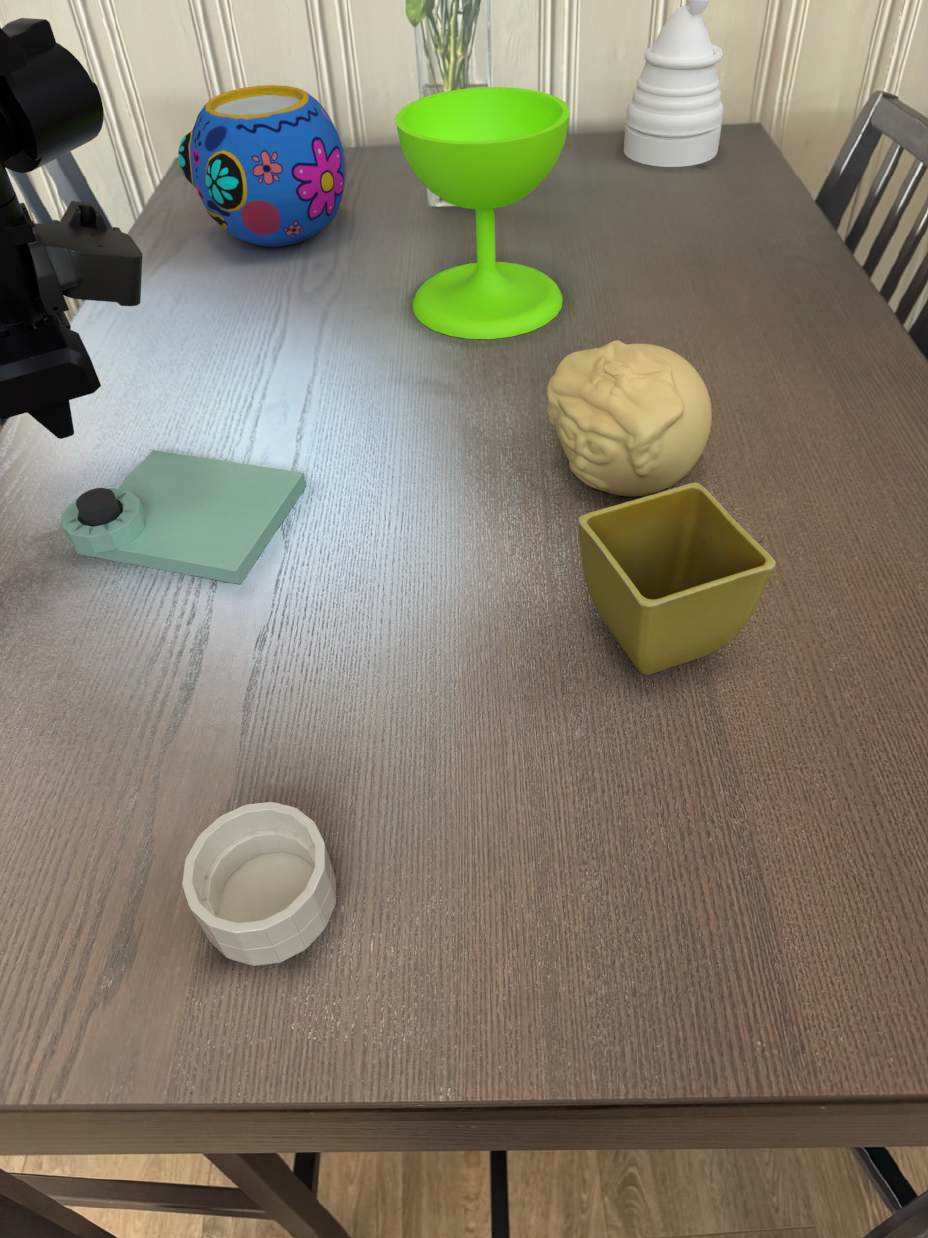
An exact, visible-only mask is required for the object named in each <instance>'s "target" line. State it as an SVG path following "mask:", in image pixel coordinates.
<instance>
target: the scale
mask: <svg viewBox="0 0 928 1238" xmlns="http://www.w3.org/2000/svg"><path fill="white" fill-rule="evenodd" d="M306 487H307V484H306V479H305V474H304V472H301V471H294V470H289V469H282V468H281V469H280V468H275V467H267V466H263V465H262V466H261V465H255V464H248V463H242V462H235V461H229V460H221V459H217V458H216V459H214V458H209V457H201V456H196V455H189V454H182V453H177V452H169V451H163V450H156V449H152V450H150V452H149V453H148V455H146V456H145V458H144V459H143V460H142V461H141V462H140V463H139V464H138V466H137V467H136V468H135V469H133V471H132V472H131V473H130V474H129V475H128V476H127V478H126V479H125V480H124V481H123V482H122V483H121V484H120V486H118V487H108V488H107V489H110V490H111V491H112V492H113V493H114V495H115V497H116V500H117V502H118V504H119V507H120V509H121V513H120V516H119V517H118V518H117V519H116V520H114V521H112V522H110V523H108V524H105V525H100V526H94V527H92V526H88V525H86V524H85V523H84V522H83V519H82V517H81V515H80V513H79V511H78V509H77V507H76V501H77V499H78V498H75V500H73V501H72V502H71V503H70V504H69V505H68V507H66V508H65V509H64V511H63V512H62V514H61V515H62V516H61V523H60V527H61V528H62V530H63V533H64V534H65V536H66V538H67V541H68V542H69V543H70V544H71V545H72V547H73V548H74V551H75V552H76V554H77V555H80V556H86V557H92V558H97V559H103V560H108V561H114V562H118V563H123V564H129V565H135V566H138V567H139V566H141V567H146V568H149V569H150V568H151V569H156V570H161V571H167V572H171V573H177V574H182V575H188V576H192V577H193V576H194V577H199V578H203V579H209V580H214V581H220V582H226V583H230V584H234V585H235V584H236V585H241V584H242V582H243V581H244V580H245V578H246V577H247V575H248V574H249V572H250V571H251V569H252V568H253V566H254V565H255V564H256V562H257V560H258V559H259V557H260V556H261V554H262V553H263V552H264V550H265V549H266V547H267V546H268V544H269V543H270V541H271V540H272V538H273V537H274V535H275V534H276V532H277V530H278V529H279V527H280V526H281V525H282V523H283V522H284V520H285V519H286V517H287V516H288V514H289V513H290V511H291V510H292V508H293V507H294V505H295V504H296V502H297V501H298V499H299V498H300V496H301V495H302V493H303V492H304V490H305V489H306Z"/></svg>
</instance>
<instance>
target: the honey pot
mask: <svg viewBox="0 0 928 1238" xmlns="http://www.w3.org/2000/svg"><path fill="white" fill-rule="evenodd" d="M709 1H710V0H687V5H680V7H679V8H677V9H676V10H675V11H674V12H673V13H671V15H670V16H669V17H668V18H667V20H666V22H665V23H664V24H663V26H662V28H661V30H660V31H659V32H658V34H657V36H656V39H655V41H654V43H653V44H652V45H651V46H649V47H648V48H646V50H645V51H644V53H643V56H644V57H643V58H644V60H645V63H644V65H643V68H642V71H641V73H640V75H639V76H638V78H637V80H636V87H635V88H634V90H633V92H632V98H631V100H630V101H629V103H628V105H627V107H626V116H625V127H624V138H623V154H624V155H625V156H626V158H628V159H630V160H631V161H633V162H637V163H639V164H642V165H648V166H652V167H661V168H681V167H693V166H696V165H701V164H703V163H704V164H705V163H707V162H709V161H711V160H713V159H714V158H715V157H716V156H717V154H718V151H719V145H720V139H721V133H722V123H723V116H724V114H725V112H724V105H723V101H722V100H721V99H722V92H721V88H720V85H721V80H720V77H719V75H718V71H717V64H718V63H720V62H721V61H722V59H723V57H724V52H723V49H722V48H721V47H719V46H718V45H717V44H713V43H712V41H711V37H710V34H709V30H708V28H707V25H706V22H705V21H704V18H703V17H702V15H701V14H702V13H704V11H705V10H706V9H707V7H708V4H709Z"/></svg>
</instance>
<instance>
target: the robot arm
mask: <svg viewBox="0 0 928 1238" xmlns="http://www.w3.org/2000/svg"><path fill="white" fill-rule="evenodd" d="M104 112H105V111H104V104H103V99H102V96H101V93H100V90H99V87H98V85H97V83H95V82H93V80H92V78H91V76H90V74H89V73H88V71H87V70H86V68H85V67H84V66H83V64H82V63H81V62H80V60H79V59H78V58H76V56H75V55H74V54H73V52H71V51H70V50H69V49H67V48H65V47H64V46H63V45H62V44H60V43H59V42H57V41H56V37H55V34H54V31H53V28H52V25H51V22H50V21H48V19H46V18H30V17H29V18H28V17H20V18H17V19H13V20H12V21H10V22H8V23H6V24H4V26H2V27H0V420H6V419H9V418H13V417H16V416H19V415H23V414H28V415H29V416H31V417H32V418H33V419H34V420H36V422H37V423H39V424H40V425H41V426H43V427H44V428H45V429H46V430H47V431H49V432H50V433H51V434H52V435H53V436H55V437H56V438H57V439H61V440H62V439H66V438H69V437H72V436H74V435H75V428H74V422H73V416H72V409H71V403H70V402H71V401H72V400H74V399H78V398H81V397H85V396H89V395H91V394H94V393H95V392H97V390H99V389H100V388H101V387H102V384H101V381H100V379H99V377H98V374H97V372H96V369H95V366H94V364H93V361H92V358H91V357H90V354H89V352H88V350H87V347H86V346H85V344H84V341H83V340H82V337H81V336H80V333H79V332H76V331H75V330H73V329H72V327H71V323H70V321H69V319H68V317H67V315H66V313H65V312H68V311H69V310H70V308H69V306H68V303H67V301H66V299H65V297H66V298H69V299H74V300H81V301H82V300H83V301H94V302H95V301H96V302H107V303H108V302H109V303H117V304H118V305H119V306H121V307H136V306H139V305H140V304H141V299H142V298H141V297H142V279H143V277H142V276H143V252H142V251H141V249H140V248H139V246H138V245H137V244H136V242H135V240H134V239H133V238H132V236H131V235H130V234H128V233H125V232H122V230H121V229H120V227H119V226H118V227H117V226H113V227H112V229H108V227H107V224H106V221H105V220H104V217H103V216H102V213H101V212H100V210H99V209H98V207H97V205H96V204H95V203H92V202H83V201H78V200H77V201H76V200H71V201H70V203H69V204H68V205H67V208H66V210H65V211H64V213H63V215H62V216H61V219H60V220H59V219H52V224H50V223H49V224H48V223H38V222H37V223H36V222H35V221H34V220H33V219H32V218H31V215H30V212H29V210H28V208H27V206H26V204H25V202H20V200H19V198H18V196H17V192H16V191H15V188H14V186H13V183H12V181H11V179H10V176H9V173H8V171H7V170H10V171H12V172H15V173H20V174H26V173H31V172H33V171H35V170H37V169H40V168H41V167H43V166H45V165H46V164H49V163H50V162H52V161H55V160H57V159H59V158H60V157H63V156H64V155H67V154H68V153H70V152H72V151H74V150H76V149H78V148H80V147H82V146H84V145H85V144H88V143H89V142H91V141H93V140H94V139H95V138H97V137H98V136H99V135H100V133H101V131H102V128H103V124H104V116H105V115H104Z"/></svg>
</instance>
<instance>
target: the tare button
mask: <svg viewBox="0 0 928 1238" xmlns="http://www.w3.org/2000/svg"><path fill="white" fill-rule="evenodd" d="M76 499H77V501H76V507H77V509H78V511H79V513H80V515H81V517H82V519H83V522H84V523H85V524H86V525H88V526H92V527H94V526H100V525H105V524H108V523H110V522H112V521H114V520H116V519H117V518H118V517H119V516H120V513H121V509H120V507H119V504H118V502H117V500H116V497H115V495H114V493H113V492H112V491H111V490H110V489H108V488H106V487H96V488H95V487H94V488H92V489H89V490H86V491H85V492H83V493H81V494H80V495H79V496H78V498H76Z"/></svg>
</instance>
